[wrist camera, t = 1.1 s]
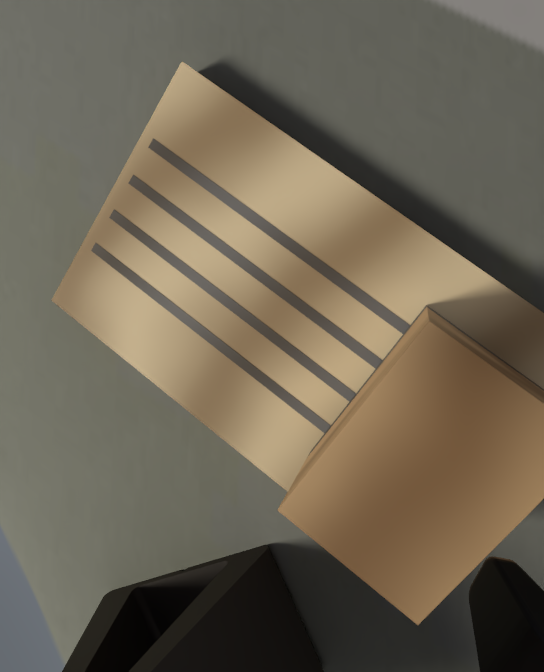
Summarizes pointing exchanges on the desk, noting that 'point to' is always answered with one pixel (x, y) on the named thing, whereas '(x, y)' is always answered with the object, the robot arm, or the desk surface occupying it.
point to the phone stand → (200, 623)
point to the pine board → (267, 278)
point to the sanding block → (424, 466)
